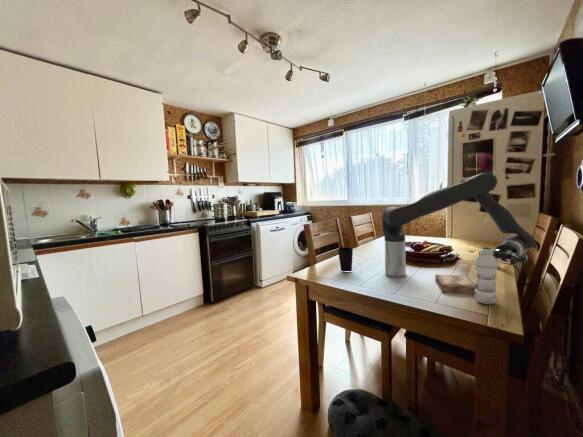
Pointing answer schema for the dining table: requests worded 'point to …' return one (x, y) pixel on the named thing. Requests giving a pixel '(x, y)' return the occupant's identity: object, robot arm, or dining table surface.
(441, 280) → the plinth
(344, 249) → the cup
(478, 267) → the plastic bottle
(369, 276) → the dining table surface
